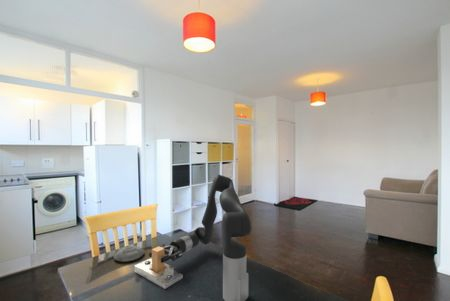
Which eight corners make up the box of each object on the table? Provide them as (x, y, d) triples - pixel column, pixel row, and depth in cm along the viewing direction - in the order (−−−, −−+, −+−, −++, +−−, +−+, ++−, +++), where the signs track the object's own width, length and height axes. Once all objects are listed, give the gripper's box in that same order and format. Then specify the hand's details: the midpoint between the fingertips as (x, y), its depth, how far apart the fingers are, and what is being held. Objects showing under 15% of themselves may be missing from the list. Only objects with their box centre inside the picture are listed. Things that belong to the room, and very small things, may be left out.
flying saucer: (150, 253, 125) (150, 243, 125) (128, 266, 112) (128, 255, 112) (130, 248, 132) (130, 239, 132) (107, 260, 118) (107, 249, 118)
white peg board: (182, 277, 102) (182, 270, 102) (164, 289, 94) (164, 280, 94) (152, 263, 115) (152, 256, 115) (134, 271, 107) (134, 264, 107)
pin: (164, 274, 105) (164, 248, 104) (157, 278, 101) (157, 251, 101) (159, 271, 107) (159, 246, 107) (151, 275, 104) (151, 249, 104)
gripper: (172, 235, 120) (145, 245, 107) (191, 241, 112) (165, 254, 99) (172, 249, 120) (145, 261, 107) (191, 256, 112) (165, 271, 99)
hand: (155, 257), depth 103 cm, fingers open, 8 cm apart
